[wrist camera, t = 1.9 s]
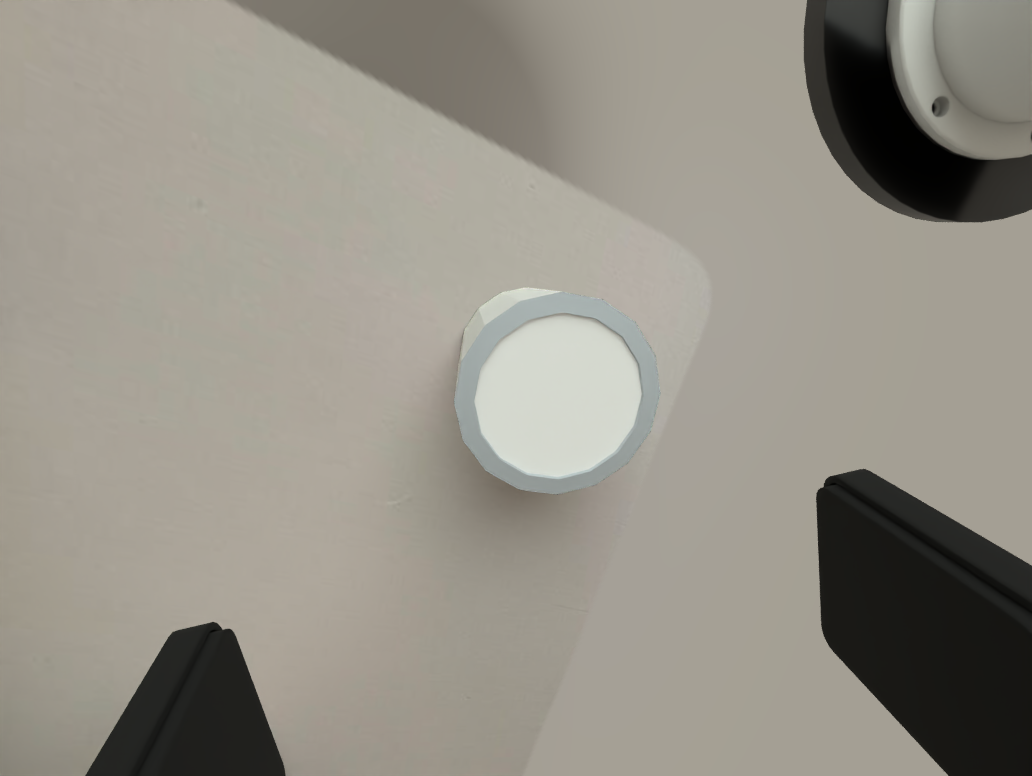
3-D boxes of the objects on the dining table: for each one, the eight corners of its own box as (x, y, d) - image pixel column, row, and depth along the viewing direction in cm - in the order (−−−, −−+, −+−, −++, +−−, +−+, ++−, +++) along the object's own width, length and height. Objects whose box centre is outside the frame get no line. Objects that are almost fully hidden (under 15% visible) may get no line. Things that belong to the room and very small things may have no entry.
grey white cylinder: (481, 246, 25) (503, 257, 19) (627, 308, 27) (696, 338, 20) (421, 398, 27) (422, 459, 20) (565, 448, 28) (610, 520, 22)
